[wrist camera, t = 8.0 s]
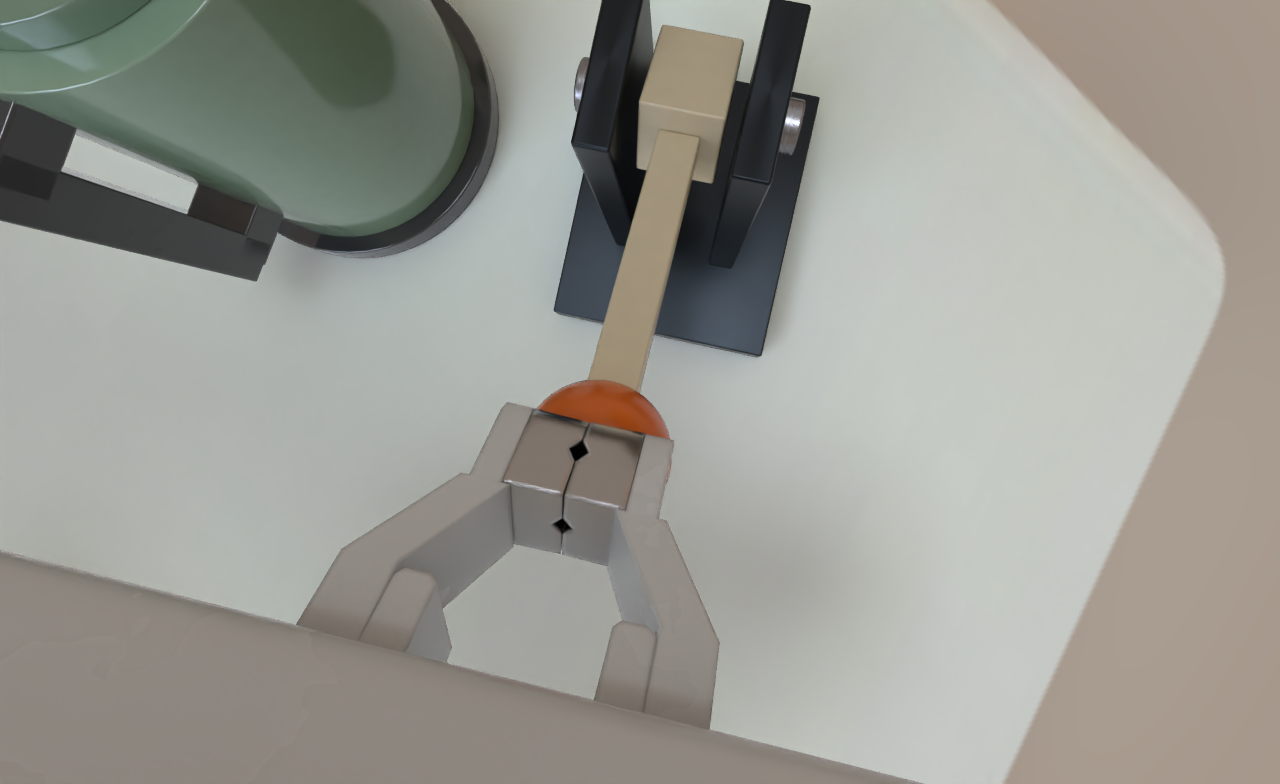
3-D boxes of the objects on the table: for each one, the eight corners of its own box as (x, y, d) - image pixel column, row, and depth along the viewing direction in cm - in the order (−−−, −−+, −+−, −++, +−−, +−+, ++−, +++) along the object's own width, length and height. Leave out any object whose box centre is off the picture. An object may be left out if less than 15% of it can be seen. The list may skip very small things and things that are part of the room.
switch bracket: (757, 357, 28) (822, 337, 16) (558, 314, 29) (463, 259, 16) (814, 108, 28) (927, -120, 15) (611, 68, 29) (557, -185, 16)
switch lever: (650, 558, 15) (658, 533, 12) (512, 525, 15) (486, 493, 12) (744, 123, 19) (767, 28, 16) (640, 103, 20) (643, 4, 17)
